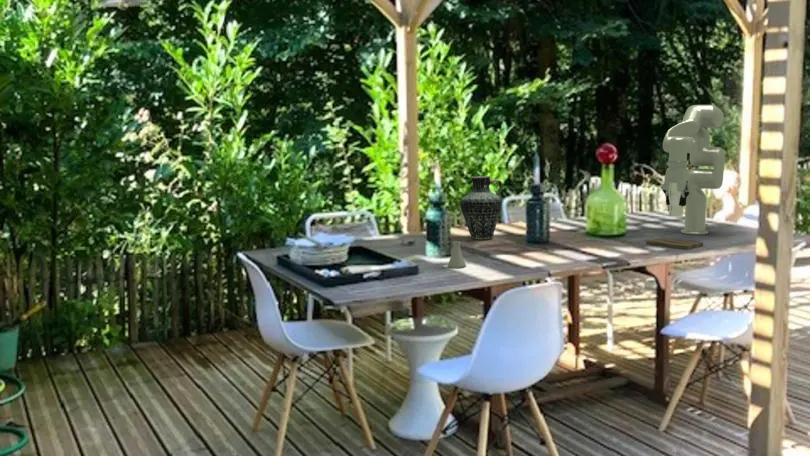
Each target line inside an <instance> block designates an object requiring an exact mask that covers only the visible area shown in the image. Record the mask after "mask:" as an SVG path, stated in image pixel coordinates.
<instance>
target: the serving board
mask: <svg viewBox="0 0 810 456" xmlns="http://www.w3.org/2000/svg"><path fill="white" fill-rule="evenodd" d="M645 242H646V243H645V244H646V245H648V244H650V245H649V246H656V247H664V248H669V249H670V248H671V249H672V248H673V249H677V250H684V251H685V250H686V251H687V250H692V249H695V248H700V247H704V242H700V241H693V240H687V239H686V240H684V239H677V238H671V237H670V238H669V237H659V238H654V239H650V240H646V241H645Z"/></svg>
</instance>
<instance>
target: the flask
mask: <svg viewBox="0 0 810 456" xmlns="http://www.w3.org/2000/svg"><path fill="white" fill-rule="evenodd" d="M461 244H462V242H461V241H453V242H452V246H453V247H452V252H451V255H450V258H449V261H448V264H447V268H453V269H461V268H466V267H467V264H466V262H465V258H464V256H463V254H462V249H461Z"/></svg>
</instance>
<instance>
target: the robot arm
mask: <svg viewBox="0 0 810 456" xmlns="http://www.w3.org/2000/svg"><path fill="white" fill-rule="evenodd" d="M724 120H725V116H724V114H723V111H722V109H720V108H719V106H717V105H714V104H693V105H690V106H689V107H687V109H686V111H685V113H684V116H683V118H682V120H681V122H679V123H677V124H676V125H674V126H671V127H670V128H669V129H668V130H667V132H666V133H665V136H664V138H663V141H662V149H663V151H664V152H665V153H667V154H668V162H666V166H668V168H666V171H665V175H664V182H663V184H662V185H660V189H661V191H662V192H663V194H664V196H665V197H666V198H665V203H666V204H665V205H666V206H670V204H669V197H668V190H669V186H670V182H673V183H677V191H681V195H682V197H681V206H682V207H684V209H685V210H684V228H683V229H680V233H681V234H687V235H697V236H698V235H707V234H708V233H709V230H707V229H706V228H709V224H708V223H706V217H707V214H706V213H707V212H706V211H707V196H706V194H705V192H704V191H703V190H705V189H706V190H718V189H721V187H722V185H723V180H724V171H725V161H726V159H725V158H726V154H725V151H724V149H723V148H722V147H719V146H710V140H711V136H710V135H709V133H708V131H707V130H706V129H705V128H715V129H716V128H721V126H723V124H724ZM688 154H689V162H690V164H691V165H692V166H694V167H712V168H711V169H710V168H691V169H688V168H687V165H688V164H687V161H688Z"/></svg>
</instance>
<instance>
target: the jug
mask: <svg viewBox="0 0 810 456" xmlns="http://www.w3.org/2000/svg"><path fill="white" fill-rule="evenodd" d="M471 183H472V190H471V191H470V192H469V193H468V194H466V195H464V196H462V198H461V200H460V203H459V204H460V210H461V212H462V215H463V218H464V220H465V223H466V227H467V230H468V232H469V236H470V238H472V239H473V240H474V239H475V240H490V239H494V234H495V230H496V227H497V223H498V221H499V217H500V214H501V210H502V205H503V203H502V199H501V198H502V197H501V193H502V190H503V187H504V186H503V185H504V184H503V182H502V180H500V179H498V178H495V179H491V176H490V175H483V176H482V175H478V176H477V175H475V176H471ZM494 183H498V189H497V193H496V194H495V193H493V192H492V191H491V189H490V185H493V184H494Z"/></svg>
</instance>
